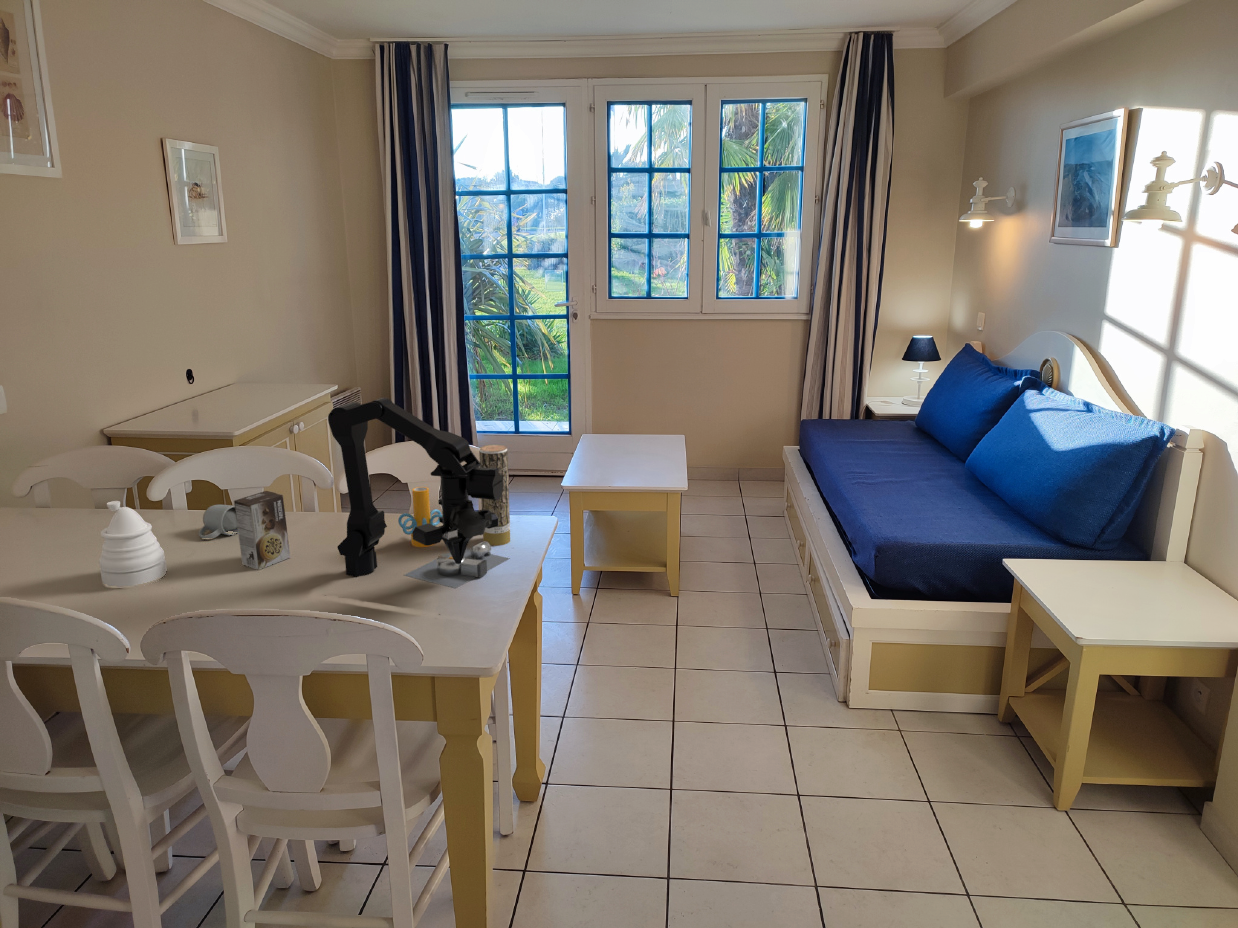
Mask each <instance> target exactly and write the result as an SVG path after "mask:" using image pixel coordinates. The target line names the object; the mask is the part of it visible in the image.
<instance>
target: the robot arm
mask: <svg viewBox="0 0 1238 928" xmlns="http://www.w3.org/2000/svg"><path fill="white" fill-rule="evenodd" d="M376 419H377V420H378V421H380V422H382V423H383V424H385V425H386V426H388V427H390V428H391V429H393V430H395V431H396V432H397V433H400V435H403V437H404V436H405V437H406V438H407V439H409V440H411V441H413V442H414V443H416V444H418V445H419V446H420V447H422V448H423V449H424V450H425V452H426V454H427V455H428V456H429V458H431V460H433V461H434V462H435V463H436V464H437V466H436V467H435V469H434V470H433V471H431V472H430V476H433V477H439V478H440V490H441V491H440V495H441V498H440V499H439V498H438V499H437V500H438V505H440V506H441V509H442V510H441V511H442V512H441V514H442V516H443V517H440V518H439V517H438V518H439V519H440V523H441V524H442V525H439V526H437V525H436V526H434V525H431V524H425V525H421V526H417V527H415V528H414V530H413V532H412V533H413V540H415V541H417V542H419V543H421V544H424V545H426V546H428V547H431V546H430V545H432V546H433V544H434V545H436V544H440V543H441V542H444V545H445V546H446V547H447V549H448V551H449V553H451V555H452V557H453V559H454V561H455V563H456V564H461V562H462V559H463V556H464V553H465V550H466V549H467V547H468V545H469V542H470V540H472V539H473V538H474V537H476V536H483V534H484V531H485V528H488V529H490V528H493V527H497V526H498V525H499V520H498V516H497V515H496V514H495V513H493V512H491V511H490V510H489V509H486V510H485V509H482V508H481V509H479V510H475V508H474V504H473V500H471V499H469V498H470V497H471V498H473V499H479V500H481V499H491V500H499V499H500V498H501V496H502V493H503V487H504V481H503V480H502V476H501V474H500V473H499V468H496V467H492V468H484V467H480V466H481V463H480V460H479V459H478V458H477V457H476V455H475V453H474V452H473V451H472V449H471V448H470V443H469V442H468V440H467V439H466V438H464V437H463V436H460V435H457V434H455V433H452V432H449V431H446V430H440V429H437V428H436V427H433V426H432V425H430V424H428V423H426V422H425V421H424V420H422V419H420V418H419V417H417V416H416V415H413V414H412V413H410V412H409V411H407V410H405V409H403V408H402V407H400V406H399V405H397V404H396V403H394V402H393V401H392V400H391V399H389V398H388V397H380V398H378V399H374V400H372V401H369V402H366V403H362V404H361V403H359V402H356V401H355V402H354V401H352V402H348V403H346V404H343V405H340V406H336V407H334V408H332V409H331V410H330V412H329V413H328V416H327V423H328V425H329V429H330V432H331V434H332V437H333V438H334V440H336V442H337V444H338V445H339V446H340V449H341V450H340V451H341V455H342V462H343V468H344V474H345V481H346V487H347V494H348V499H349V506H350V510H349V514H348V518H347V521H346V537H345V538H344V539H343V540H342V541H341V542H340V543H339V544H338V545H337V550H338V552H339V555H340V556H344V562H345V563H344V564H345V573H346V575H347V576H350V577H355V578H358V577H365V576H369V575H371V574H373V573H374V572H375V570H376V569H377V568H378V561H377V559H378V558H377V552H376V548H375V547H376V546H377V545H379V542H380V539H381V538H382V537H384V535H385V533H386V532H385V531H386V529H387V527H388V525H387V524H386V521H385V512H384V510H378V508H376V507H375V505H374V501H373V496H372V490H371V489H372V488H371V482H370V476H369V469H368V463H367V457H366V450H365V440H366V436H367V432H368V428H369V426H368V425H369V423H368V422H369V421H373V420H376ZM463 462H464V463H465V464H463V465H462V463H463Z"/></svg>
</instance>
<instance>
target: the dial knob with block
mask: <svg viewBox="0 0 1238 928" xmlns="http://www.w3.org/2000/svg"><path fill="white" fill-rule="evenodd" d="M435 560H437V573H438V574H440V575H443V576H455V575H459V574H461V575H467V576H474V577H476V578H483V576H485V575H486V574H488V571H487V560H483V561H480V560H473V559H466V560H465V556H463V559H462V562H461V564H456V563H455V561H454V559H453V557H452V555H451V553H450V552H448V553H444V554H441V555H439V556H437V557H436V559H435Z"/></svg>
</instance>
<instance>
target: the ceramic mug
mask: <svg viewBox="0 0 1238 928" xmlns="http://www.w3.org/2000/svg"><path fill="white" fill-rule="evenodd" d="M202 522H203V526H201V528H200V529H199V531H198V535H199V537H200V539H201V538H213V539H215V538H217V537H218V536H220V535H226V536H230V535H232V536H234V535H233V533H232V534H228V533H226V532H228V531H233V532H237V533H238V527H237V519H236V512H235V505H229V504H214V505H211V506H208V508H206V510H204V513H203V516H202ZM208 530H209V531H210V532H211V533H209V534H206V535H205V533H206V532H207V531H208ZM234 534H236V533H234ZM236 535H237V534H236Z"/></svg>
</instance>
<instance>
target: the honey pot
mask: <svg viewBox="0 0 1238 928" xmlns="http://www.w3.org/2000/svg"><path fill="white" fill-rule="evenodd" d="M106 506H107V508H108V510H110V511H111V512H115V513H114V514H113V516H112V518H111V520H110V521H109V525H108V526H107V527H105V528H103V529H102V530H101V532H100V536H101V538H104V541H103V544H102V546H101V549H102V551H101V552H100V555H101V556H100V557H99V560H98V564H99V568H100V570H99V572H100V577H101V582H102V581H103V583H104V584H107V585H108V586H117V587H124V586H134V585H138V584H143V583H147V582H150V581H153V580H156V579H157V578H160V577H162V576H163V575H164V574H165V573H166V571H167V572H168V569H167V563H166V556H165V551H164V549H163V547H161V545H160V542H159V541H158V539H157V537H156V536H155V535H154V533H153V531H152V528H153V526H152V524H151V523H149V522H147V521H145V520H144V519H143V517H142V516H141V514H139V513H138V512H137V511H136V510H134V509H133V508H131V507H128V506H123V507H121V501H119V500H112V501H109V502H107V503H106ZM103 583H102V584H103Z"/></svg>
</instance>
